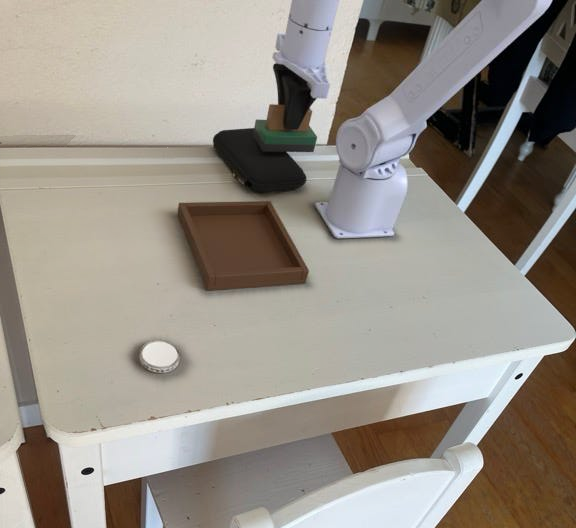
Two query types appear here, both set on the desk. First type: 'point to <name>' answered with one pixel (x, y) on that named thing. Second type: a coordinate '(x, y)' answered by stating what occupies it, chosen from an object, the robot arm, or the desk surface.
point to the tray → (241, 245)
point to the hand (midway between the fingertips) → (288, 124)
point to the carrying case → (257, 163)
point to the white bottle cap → (159, 356)
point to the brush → (283, 133)
